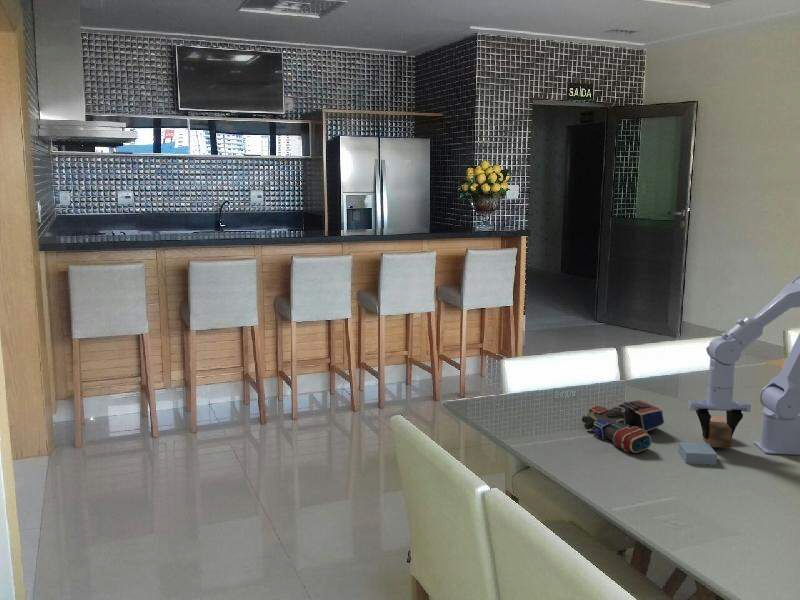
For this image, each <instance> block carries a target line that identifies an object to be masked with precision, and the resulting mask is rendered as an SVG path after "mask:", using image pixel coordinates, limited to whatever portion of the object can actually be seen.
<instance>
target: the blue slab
mask: <svg viewBox="0 0 800 600" xmlns="http://www.w3.org/2000/svg"><path fill="white" fill-rule="evenodd" d="M678 454H679V456H680V457H681V458H682V460H683V461H684V463H685V464H689V465H690V464H691V465H705V464H709V465H711V466H716V465H717V463H718V461H717V460H718V453H717V452H716V451H715V450H714V448H713V447H711V446H710V445H709V444H706V443H697V442H696V443H695V442H694V443H692V442H678Z"/></svg>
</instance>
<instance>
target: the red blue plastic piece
mask: <svg viewBox="0 0 800 600" xmlns="http://www.w3.org/2000/svg"><path fill="white" fill-rule="evenodd" d="M581 421H582V423H583V424H584V428H585V429H586V431H588V430H591V431H592V432H593V433H594V434H595V436H597V437H599V438H601V439H602V440H607V439H609V440H611V442H612V443H613V445H615V447H617V448H619V449H621V450H622V451H625V452H626V453H629V452H630V453H635V454H637V453H641V452H642V451H645V450H647V449H649V448H650V447H651V445H652V438H651V435H650V434H649V433H648V432H649V431H650V432H651V431H652V430H654V429H657V428H658V427H661V426H662V425H664V424H665V418H664V414H663V410H662V409H661V408H659V407H657V406H655V405H653V404H650V403H648V402H645V401H643V400H640V399H639V400H638V399H636V400H629V401H623V402H621V403H618V406H612V408H610V409H609V408H606V407H604V406H601V405H596V406H593V407H590V408H589V409H588V413H587V415H584V416H582V417H581Z"/></svg>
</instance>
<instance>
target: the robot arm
mask: <svg viewBox="0 0 800 600" xmlns="http://www.w3.org/2000/svg"><path fill="white" fill-rule="evenodd" d="M792 308H793V309H794V308H800V276H797V277H795V278H793V280H791V282H789V283H786V285H784V286H783V288H782V290H781V291H780V292H779V293H778V294H777V295H776V296H774V298H773V299H772V300H770V301H769V302H768V303H767V304H766V305H765V306H763V308H762V309H760V310H759V311H758V312H757V313H756V314H755V315H754V316H752V317H743V318H739V319H738V320H736V321H735V322H736V324H735V325H733V326H732V327H731V328H730V329H728V331H726V332H723V333H721V336H720V337H719V336H718V337H716V338H713V339H712V340H711V341H710V342H709V345H708V346H707V347H705V350H706V353H707V355H708V356H709V366H708V367H709V369H708V380H707V381H708V385H707V398H706V399H702V400H688V402H687V409H688V410H689V411H693V412H695V413H696V414H697V417H698V420H699V423H700V426H701V430H702V438H703V437H704V438H705V439H708V436H709V423H710V419H711V417H712V415H711V414H710V412H709V411H720V412H721V411H722V412H723V411H725V412H726V413H725V414H726V415H725V416H726V419H727V425H729V426H730V427H731V428H732V433H731V439H732V440H733V435H734V433H735V430H736V428H737V426H738V424H739V423H740V422H741V421H742V419H743V417H744V413H745V412H746V413H751V410H752V409H751V408H752V404H750V403H749V402H747V401H746V402H744V401H736V400H735V401H734V400H733V398H734V397H733V394H734V381H735V369H736V368H735V365H736V362H738V361H739V360H740V357H741V355H742V352H743V351H744V350H745V349H746V348H747V347H749V346H751V344H752V343H754V342H755V341H756V340H758V339H759V338H760V337H762V335H763V331H764V328H765V327H766V326H767V325H769V324H770V323H772V322H773V321H774V320H776V319H778V318H779V317H780V316H782V315H784V313H786V312H787V311H789V310H790V309H792ZM758 399H759V402H760V404H761V405H762V406H763V410H762V418H761V419H762V420H761V428H760V429H761V430H760V431H761V432H760V440H753V443H754V444H755V445H756V446H757V447H758V448H759V449H760V450H761V451H763V453H765V454H773V455H774V454H775V455H793V456H794V455H796V456H798V455H799V456H800V332H799V334H798V336H797V338H796V340H795V341H794V343H793V345H792V348H791V349H790V352H789V354H788V356H787V358H786V360H785V362H784V364H783V366H782V368H781V370H780V372H779V374H777V375H775V376H773V377H772V378H771V379H770V380H769V383H767V385H765V386H764V387H763V388H762V389H761V390H760V392H759V398H758ZM742 412H744V413H742Z"/></svg>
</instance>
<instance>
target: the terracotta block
mask: <svg viewBox="0 0 800 600" xmlns="http://www.w3.org/2000/svg"><path fill="white" fill-rule="evenodd" d="M710 421H711V422H725V423H726V424H727V418H725V417H724V416H722V415H721V416H711V419H710ZM732 440H733V438H732V439H731V442H732Z"/></svg>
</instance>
